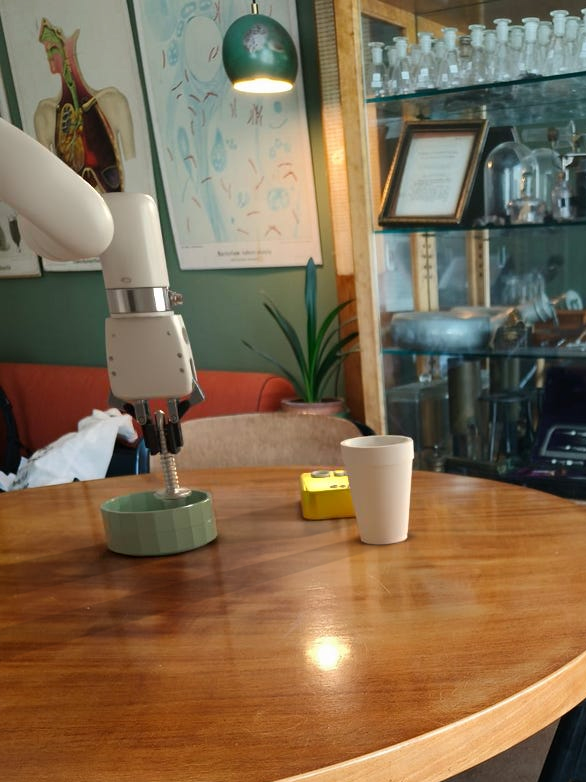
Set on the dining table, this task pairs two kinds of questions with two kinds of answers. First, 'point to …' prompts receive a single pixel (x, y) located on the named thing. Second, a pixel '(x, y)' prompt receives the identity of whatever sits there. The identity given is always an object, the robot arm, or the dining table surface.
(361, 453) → the foam cup
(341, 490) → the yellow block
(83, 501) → the dining table surface
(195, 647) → the dining table surface
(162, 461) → the screw
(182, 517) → the bowl
